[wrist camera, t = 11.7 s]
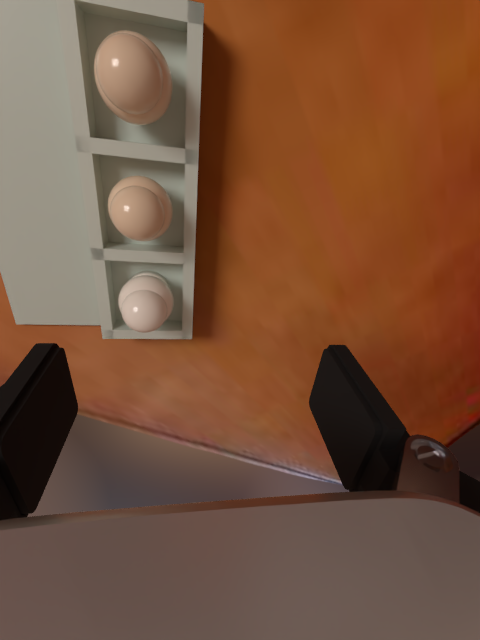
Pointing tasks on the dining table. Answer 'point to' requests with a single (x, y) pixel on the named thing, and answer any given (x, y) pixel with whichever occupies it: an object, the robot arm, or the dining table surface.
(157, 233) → the brown egg middle
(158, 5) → the egg carton
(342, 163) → the dining table surface
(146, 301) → the white egg shape
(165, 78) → the brown egg end
